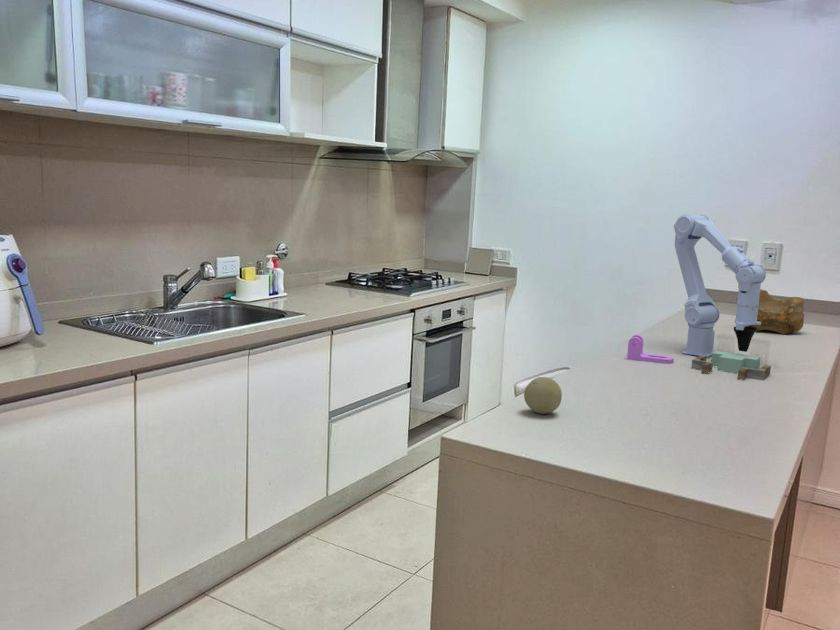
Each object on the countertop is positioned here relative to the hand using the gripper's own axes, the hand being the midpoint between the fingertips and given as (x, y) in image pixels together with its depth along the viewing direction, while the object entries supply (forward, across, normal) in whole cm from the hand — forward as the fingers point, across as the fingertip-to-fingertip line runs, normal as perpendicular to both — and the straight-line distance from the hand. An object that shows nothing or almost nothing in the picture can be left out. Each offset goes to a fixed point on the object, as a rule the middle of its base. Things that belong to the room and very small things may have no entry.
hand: (743, 351), depth 211 cm
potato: (+4, -86, +21) cm, 89 cm away
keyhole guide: (+4, -14, 0) cm, 15 cm away
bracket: (+4, -15, +22) cm, 27 cm away
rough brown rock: (+4, +68, +8) cm, 69 cm away
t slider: (+4, -10, 0) cm, 10 cm away
